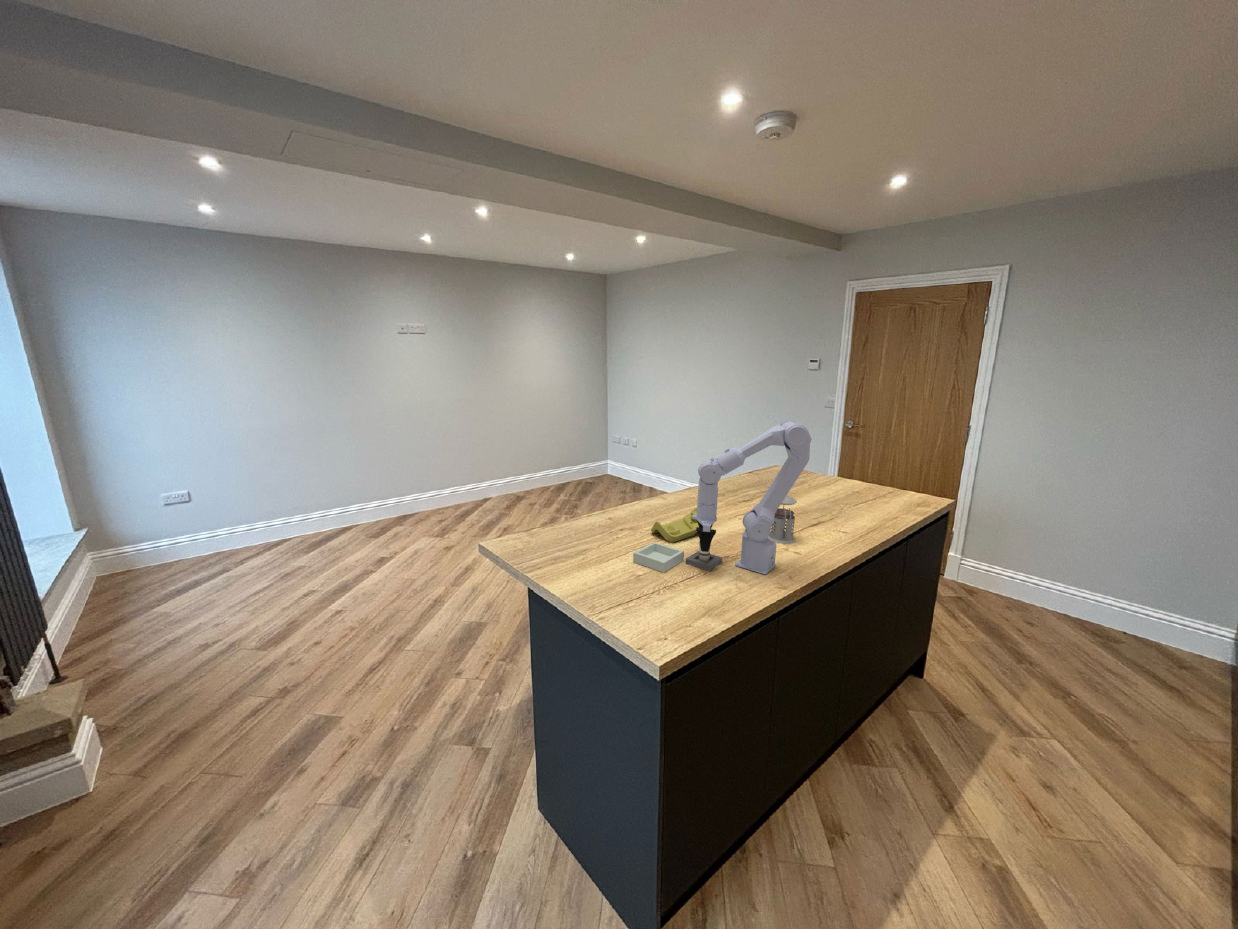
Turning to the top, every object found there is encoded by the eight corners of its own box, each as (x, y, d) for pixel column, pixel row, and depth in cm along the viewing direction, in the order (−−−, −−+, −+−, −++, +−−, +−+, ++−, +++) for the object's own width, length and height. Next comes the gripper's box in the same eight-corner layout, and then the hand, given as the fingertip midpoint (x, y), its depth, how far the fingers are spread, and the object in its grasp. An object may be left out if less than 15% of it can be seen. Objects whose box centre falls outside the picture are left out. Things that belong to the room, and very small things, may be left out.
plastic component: (672, 538, 151) (654, 518, 157) (666, 553, 155) (648, 533, 161) (714, 522, 162) (695, 504, 168) (707, 537, 166) (689, 518, 172)
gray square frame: (722, 562, 139) (722, 557, 139) (709, 571, 133) (709, 566, 133) (698, 555, 144) (699, 550, 144) (685, 563, 138) (685, 558, 137)
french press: (791, 533, 163) (798, 465, 157) (800, 546, 151) (808, 473, 146) (763, 532, 163) (768, 464, 158) (770, 545, 152) (776, 472, 147)
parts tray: (683, 560, 140) (684, 551, 139) (663, 572, 132) (663, 563, 131) (654, 550, 147) (654, 541, 146) (633, 561, 138) (633, 552, 138)
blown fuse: (711, 562, 139) (712, 542, 137) (706, 566, 136) (707, 545, 135) (701, 559, 141) (702, 539, 139) (696, 563, 138) (697, 542, 137)
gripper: (693, 494, 142) (691, 536, 145) (693, 509, 128) (690, 554, 131) (716, 496, 141) (713, 537, 144) (719, 511, 127) (715, 556, 130)
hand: (704, 546), depth 137 cm, fingers open, 7 cm apart
